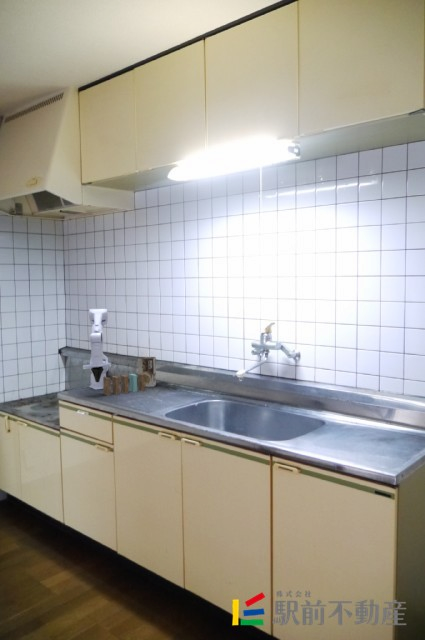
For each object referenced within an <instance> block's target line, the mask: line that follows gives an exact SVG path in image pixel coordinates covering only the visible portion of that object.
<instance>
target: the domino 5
mask: <svg viewBox="0 0 425 640" xmlns="http://www.w3.org/2000/svg"><path fill="white" fill-rule="evenodd" d="M138 390H139V391H141V392H145V391H146V387H145V374H143V373H137V391H138Z"/></svg>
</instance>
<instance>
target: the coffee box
mask: <svg viewBox="0 0 425 640" xmlns="http://www.w3.org/2000/svg"><path fill="white" fill-rule="evenodd" d="M156 361H157V360H156V356H140V357H138V358H137V365H138V366H137V368H138V369H137V372H138V373H143V374H145V388H146V387H147V388H151V387H155V386H156V385H157V375H156V374H157V362H156ZM138 373H137V374H138Z"/></svg>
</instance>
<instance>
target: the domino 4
mask: <svg viewBox="0 0 425 640" xmlns="http://www.w3.org/2000/svg"><path fill="white" fill-rule="evenodd" d="M129 391H130V392H132V393H138V374H135V373H129Z"/></svg>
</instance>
